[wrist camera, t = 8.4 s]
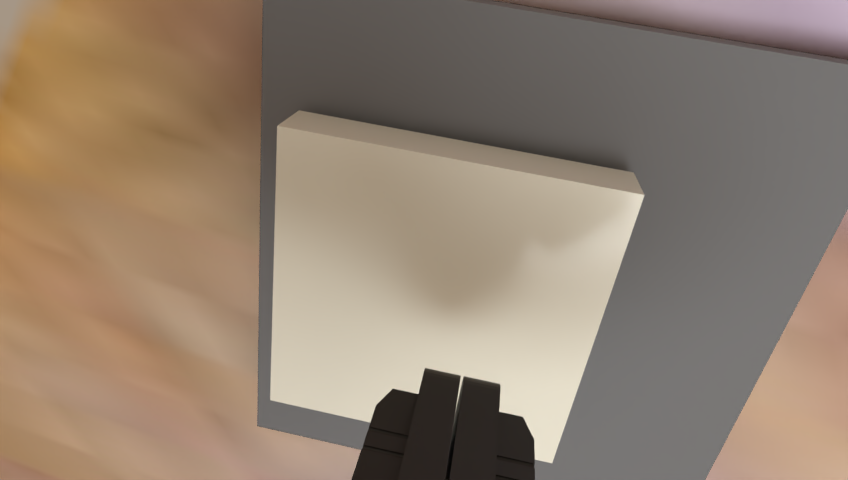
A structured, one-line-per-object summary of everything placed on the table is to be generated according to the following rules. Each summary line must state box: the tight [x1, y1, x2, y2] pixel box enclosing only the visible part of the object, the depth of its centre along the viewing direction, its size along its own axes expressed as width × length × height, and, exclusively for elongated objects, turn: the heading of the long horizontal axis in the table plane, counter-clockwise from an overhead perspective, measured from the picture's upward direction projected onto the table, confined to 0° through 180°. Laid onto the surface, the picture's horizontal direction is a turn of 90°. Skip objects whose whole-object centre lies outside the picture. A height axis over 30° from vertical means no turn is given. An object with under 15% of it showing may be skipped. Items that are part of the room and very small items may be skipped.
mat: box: [257, 0, 848, 480], centre depth 16 cm, size 14×14×1 cm
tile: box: [270, 110, 644, 463], centre depth 15 cm, size 2×8×8 cm
